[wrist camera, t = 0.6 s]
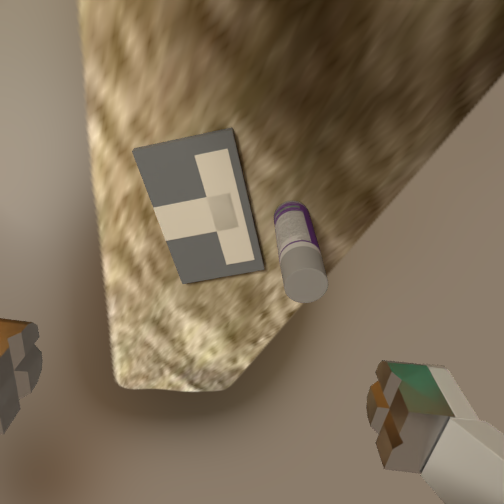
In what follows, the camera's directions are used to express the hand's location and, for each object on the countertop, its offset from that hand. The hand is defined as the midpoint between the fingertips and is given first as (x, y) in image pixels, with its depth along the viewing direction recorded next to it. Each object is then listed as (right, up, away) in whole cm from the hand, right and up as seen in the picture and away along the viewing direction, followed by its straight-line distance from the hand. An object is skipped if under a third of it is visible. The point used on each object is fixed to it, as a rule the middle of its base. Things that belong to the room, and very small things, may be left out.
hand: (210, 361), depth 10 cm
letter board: (-5, +8, +42) cm, 43 cm away
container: (+6, +7, +43) cm, 44 cm away
